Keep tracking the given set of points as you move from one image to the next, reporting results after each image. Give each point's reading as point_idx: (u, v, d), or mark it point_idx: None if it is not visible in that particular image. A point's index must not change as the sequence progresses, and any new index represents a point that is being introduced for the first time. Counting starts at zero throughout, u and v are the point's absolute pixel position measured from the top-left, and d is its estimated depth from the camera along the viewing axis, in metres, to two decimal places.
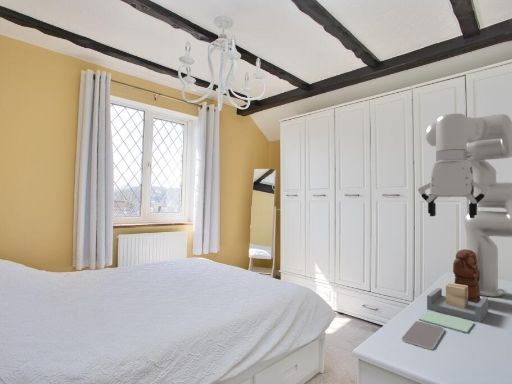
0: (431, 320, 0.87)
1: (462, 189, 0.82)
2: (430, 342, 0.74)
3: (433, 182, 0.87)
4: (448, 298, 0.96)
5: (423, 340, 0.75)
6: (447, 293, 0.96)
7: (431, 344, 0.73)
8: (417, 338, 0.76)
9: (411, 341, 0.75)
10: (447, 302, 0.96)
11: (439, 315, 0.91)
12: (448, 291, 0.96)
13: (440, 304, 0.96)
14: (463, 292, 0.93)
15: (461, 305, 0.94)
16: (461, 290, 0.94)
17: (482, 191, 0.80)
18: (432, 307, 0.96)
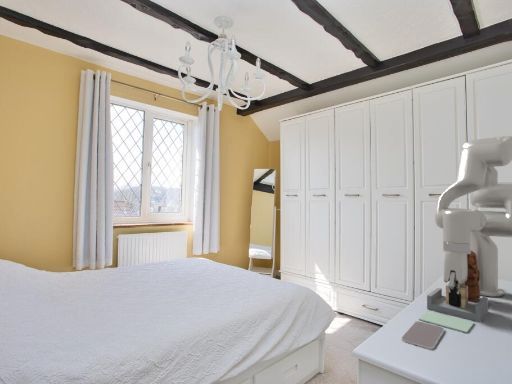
0: (431, 320, 0.87)
1: (467, 275, 0.97)
2: (430, 342, 0.74)
3: (461, 272, 0.92)
4: (448, 298, 0.96)
5: (423, 340, 0.75)
6: (447, 293, 0.96)
7: (431, 344, 0.73)
8: (417, 338, 0.76)
9: (411, 341, 0.75)
10: (447, 302, 0.96)
11: (439, 315, 0.91)
12: (448, 291, 0.96)
13: (440, 304, 0.96)
14: (463, 292, 0.93)
15: (461, 305, 0.94)
16: (461, 290, 0.94)
17: None
18: (432, 307, 0.96)
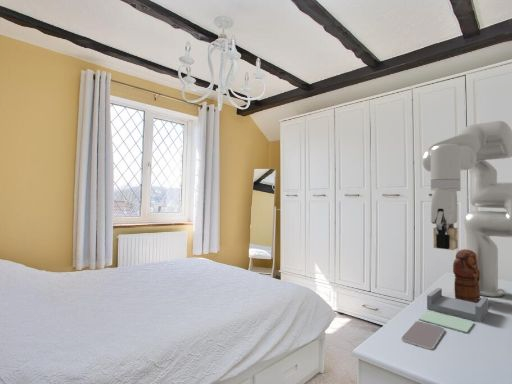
0: (431, 320, 0.87)
1: (456, 217, 0.89)
2: (430, 342, 0.74)
3: (450, 210, 0.84)
4: None
5: (423, 340, 0.75)
6: (435, 236, 0.88)
7: (431, 344, 0.73)
8: (417, 338, 0.76)
9: (411, 341, 0.75)
10: (435, 245, 0.88)
11: (439, 315, 0.91)
12: None
13: (440, 304, 0.96)
14: (452, 232, 0.85)
15: (450, 247, 0.85)
16: (450, 230, 0.85)
17: None
18: (432, 307, 0.96)
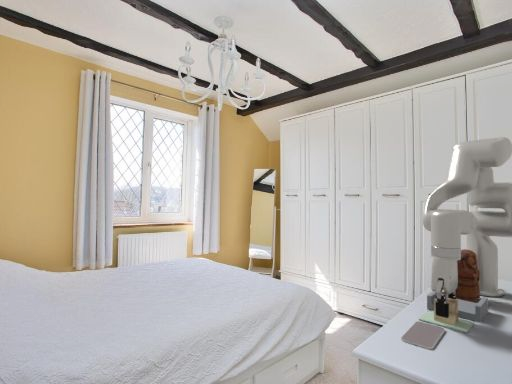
0: (431, 320, 0.87)
1: (457, 283, 0.88)
2: (430, 342, 0.74)
3: (450, 280, 0.83)
4: None
5: (423, 340, 0.75)
6: (435, 308, 0.88)
7: (430, 344, 0.73)
8: (417, 338, 0.76)
9: (410, 341, 0.75)
10: (435, 318, 0.87)
11: None
12: None
13: None
14: (452, 307, 0.84)
15: (450, 322, 0.85)
16: (450, 305, 0.85)
17: None
18: (432, 307, 0.96)
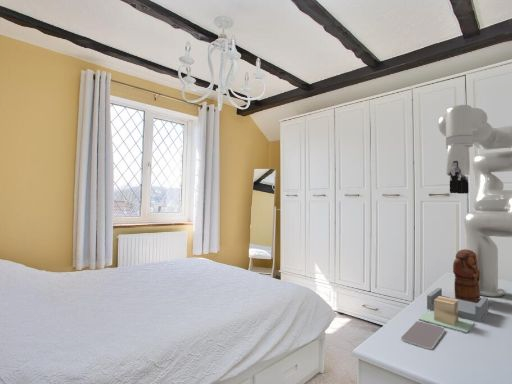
0: (431, 320, 0.87)
1: (469, 170, 1.01)
2: (430, 342, 0.74)
3: (464, 162, 0.96)
4: (436, 313, 0.87)
5: (422, 340, 0.75)
6: (435, 308, 0.88)
7: (430, 344, 0.73)
8: (417, 338, 0.76)
9: (410, 341, 0.75)
10: (435, 318, 0.87)
11: None
12: (436, 305, 0.87)
13: None
14: (452, 307, 0.84)
15: (450, 322, 0.85)
16: (450, 305, 0.85)
17: None
18: (432, 307, 0.96)
